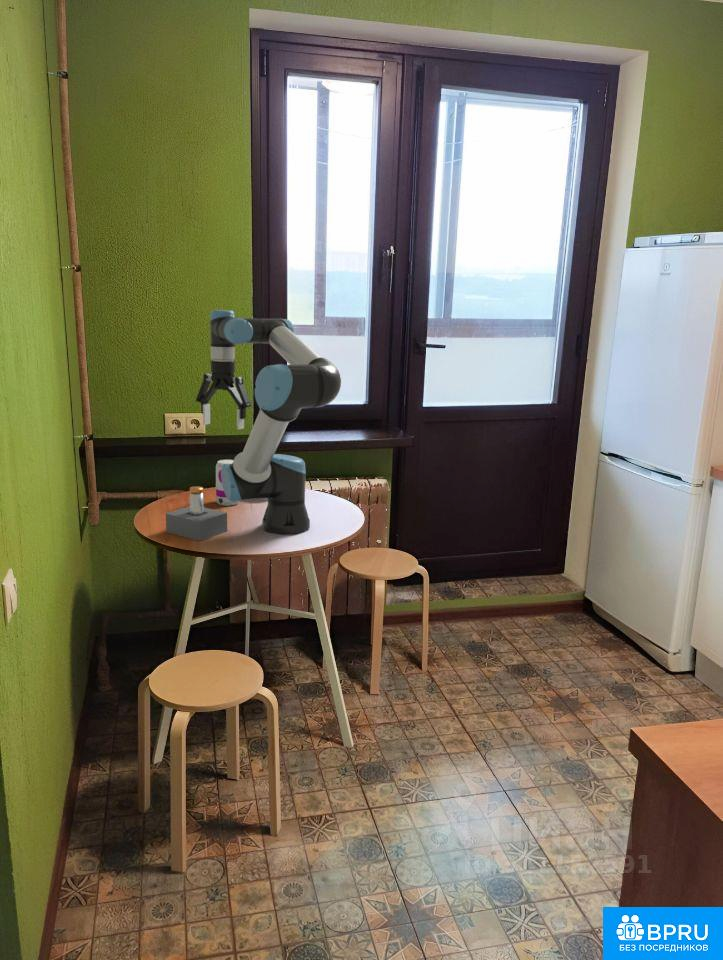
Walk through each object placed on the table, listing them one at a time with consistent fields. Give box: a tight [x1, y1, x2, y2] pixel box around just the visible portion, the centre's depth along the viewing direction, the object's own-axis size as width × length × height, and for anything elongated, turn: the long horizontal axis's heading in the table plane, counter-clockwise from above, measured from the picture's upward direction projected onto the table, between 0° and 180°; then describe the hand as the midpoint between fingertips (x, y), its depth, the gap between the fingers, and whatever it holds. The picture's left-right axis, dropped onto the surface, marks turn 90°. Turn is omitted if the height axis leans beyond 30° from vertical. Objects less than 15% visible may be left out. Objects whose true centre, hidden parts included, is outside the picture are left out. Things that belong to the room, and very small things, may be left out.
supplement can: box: [215, 459, 241, 507], centre depth 259 cm, size 8×8×15 cm
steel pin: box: [189, 485, 204, 516], centre depth 227 cm, size 4×4×14 cm
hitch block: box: [165, 505, 228, 542], centre depth 228 cm, size 14×12×6 cm
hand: (223, 426), depth 238 cm, fingers open, 13 cm apart
